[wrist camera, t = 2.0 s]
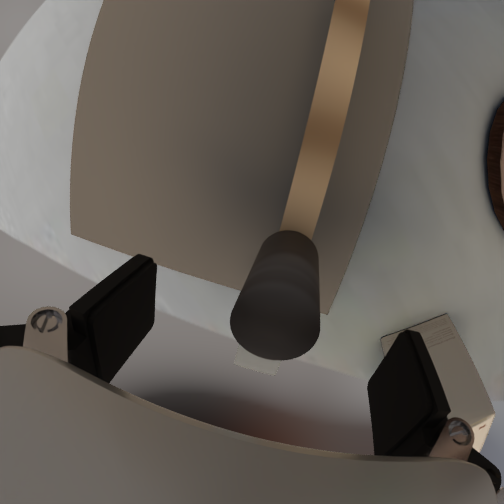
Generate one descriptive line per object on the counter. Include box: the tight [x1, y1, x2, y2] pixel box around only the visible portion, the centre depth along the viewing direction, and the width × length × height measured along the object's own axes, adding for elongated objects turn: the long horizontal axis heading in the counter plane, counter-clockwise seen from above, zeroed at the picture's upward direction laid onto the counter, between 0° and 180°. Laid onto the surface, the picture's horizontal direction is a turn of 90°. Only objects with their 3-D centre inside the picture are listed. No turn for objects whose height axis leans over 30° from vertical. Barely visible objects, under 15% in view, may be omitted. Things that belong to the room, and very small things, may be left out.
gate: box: [230, 0, 370, 361], centre depth 12 cm, size 20×3×13 cm, turn 168°
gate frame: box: [234, 0, 335, 376], centre depth 13 cm, size 26×3×13 cm, turn 168°
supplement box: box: [381, 314, 495, 452], centre depth 18 cm, size 7×7×13 cm
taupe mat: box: [70, 0, 414, 315], centre depth 19 cm, size 30×27×1 cm
